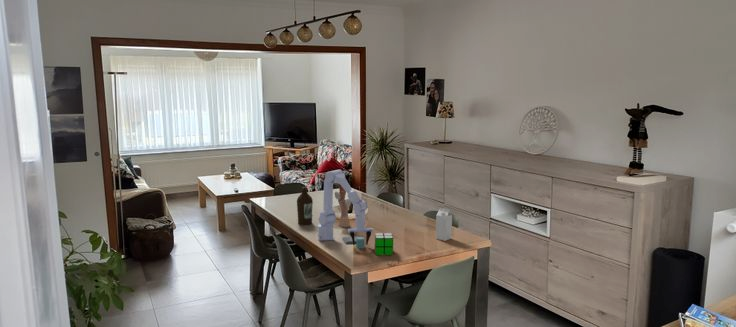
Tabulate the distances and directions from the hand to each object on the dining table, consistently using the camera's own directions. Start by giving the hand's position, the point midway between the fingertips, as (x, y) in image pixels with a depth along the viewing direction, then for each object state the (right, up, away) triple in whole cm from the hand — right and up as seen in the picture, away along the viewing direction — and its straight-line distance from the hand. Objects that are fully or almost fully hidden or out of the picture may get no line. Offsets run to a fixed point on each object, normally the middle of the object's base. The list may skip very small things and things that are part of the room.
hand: (360, 244), depth 307 cm
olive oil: (-38, +6, +51) cm, 64 cm away
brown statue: (-12, +5, +45) cm, 47 cm away
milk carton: (+51, +1, +17) cm, 54 cm away
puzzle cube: (+13, -4, -9) cm, 16 cm away
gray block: (-6, 0, +12) cm, 13 cm away
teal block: (0, -2, 0) cm, 2 cm away
